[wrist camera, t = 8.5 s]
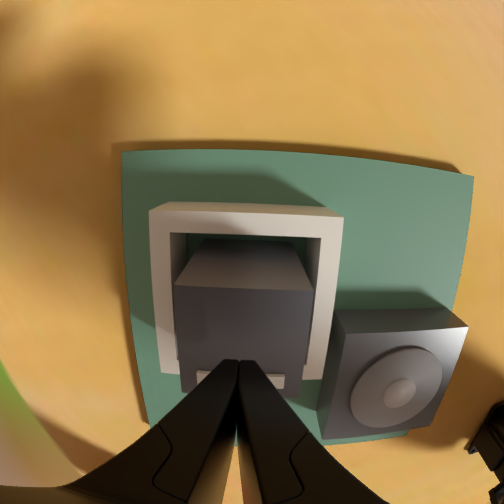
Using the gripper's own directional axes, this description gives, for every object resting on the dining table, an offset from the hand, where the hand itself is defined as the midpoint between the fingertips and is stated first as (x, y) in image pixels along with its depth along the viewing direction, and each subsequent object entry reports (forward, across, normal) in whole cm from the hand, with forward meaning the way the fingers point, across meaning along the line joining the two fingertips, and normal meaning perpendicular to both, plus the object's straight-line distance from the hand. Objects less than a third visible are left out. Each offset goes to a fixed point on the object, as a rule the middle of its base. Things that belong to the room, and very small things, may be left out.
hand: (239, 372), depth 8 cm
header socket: (+8, 0, 0) cm, 8 cm away
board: (+8, -3, +3) cm, 9 cm away
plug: (+7, 0, 0) cm, 7 cm away
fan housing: (+8, -8, +5) cm, 12 cm away
